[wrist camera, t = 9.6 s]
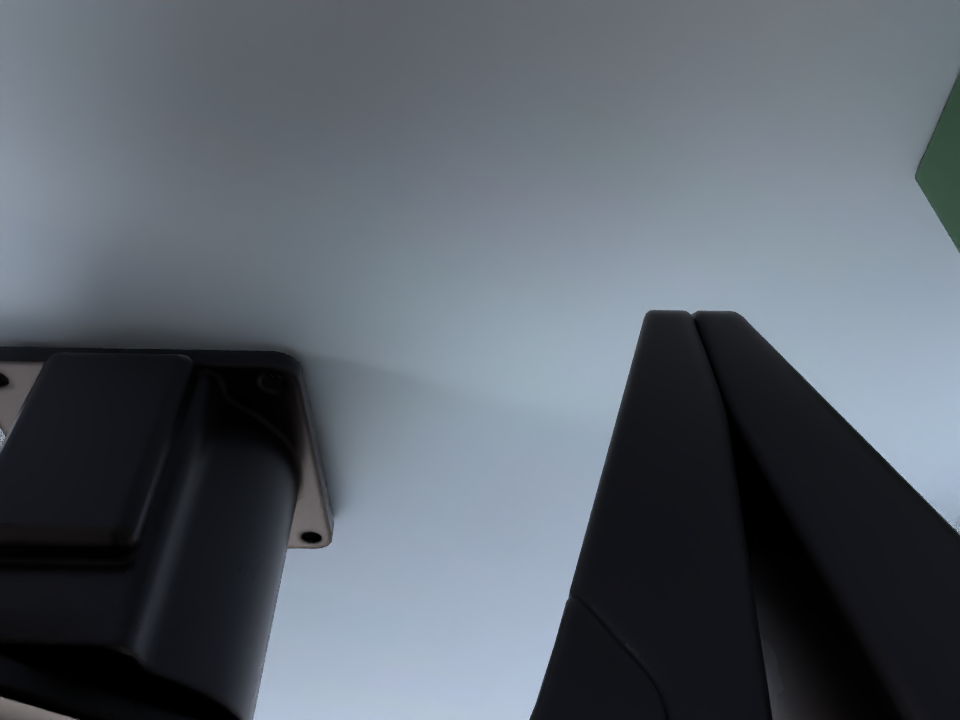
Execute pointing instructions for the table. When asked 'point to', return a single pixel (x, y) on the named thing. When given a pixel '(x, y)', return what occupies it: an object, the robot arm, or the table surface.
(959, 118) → the green block
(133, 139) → the table surface
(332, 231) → the table surface
